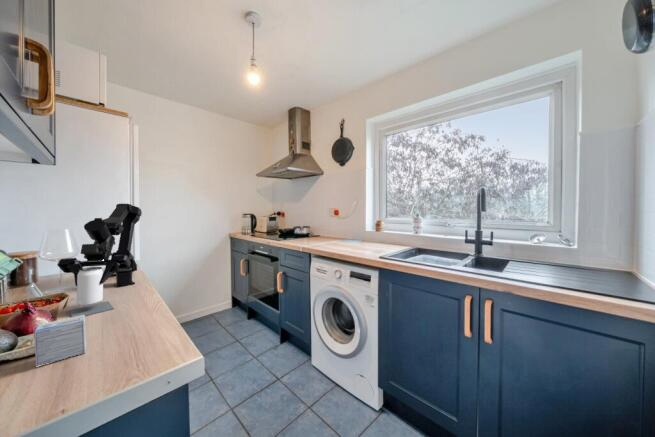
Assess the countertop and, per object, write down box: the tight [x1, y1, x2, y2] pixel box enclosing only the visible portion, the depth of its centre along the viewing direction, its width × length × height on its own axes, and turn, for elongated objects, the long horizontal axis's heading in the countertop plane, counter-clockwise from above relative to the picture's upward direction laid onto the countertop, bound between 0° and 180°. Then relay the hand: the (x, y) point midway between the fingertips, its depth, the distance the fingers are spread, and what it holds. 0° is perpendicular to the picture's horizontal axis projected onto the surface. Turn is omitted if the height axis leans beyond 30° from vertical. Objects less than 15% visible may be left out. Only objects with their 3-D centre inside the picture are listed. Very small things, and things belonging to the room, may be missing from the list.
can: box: [76, 266, 104, 307], centre depth 82 cm, size 6×6×12 cm
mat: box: [68, 301, 115, 318], centre depth 83 cm, size 10×10×1 cm
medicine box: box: [33, 315, 87, 367], centre depth 57 cm, size 8×4×9 cm, turn 134°
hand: (89, 284), depth 81 cm, fingers closed on can, 6 cm apart
